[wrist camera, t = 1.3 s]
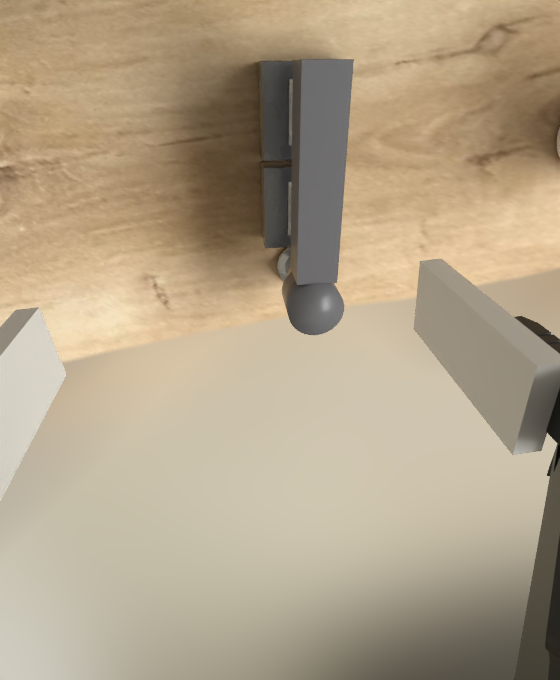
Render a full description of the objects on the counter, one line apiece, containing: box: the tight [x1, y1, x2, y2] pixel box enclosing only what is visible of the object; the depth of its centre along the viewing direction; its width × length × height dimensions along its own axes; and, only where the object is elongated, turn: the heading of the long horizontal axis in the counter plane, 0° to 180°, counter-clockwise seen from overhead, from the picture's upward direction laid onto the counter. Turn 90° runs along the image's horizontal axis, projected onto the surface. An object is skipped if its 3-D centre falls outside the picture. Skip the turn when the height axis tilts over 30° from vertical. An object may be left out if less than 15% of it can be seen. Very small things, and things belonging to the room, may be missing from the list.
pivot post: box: [277, 247, 292, 281], centre depth 36 cm, size 4×4×5 cm
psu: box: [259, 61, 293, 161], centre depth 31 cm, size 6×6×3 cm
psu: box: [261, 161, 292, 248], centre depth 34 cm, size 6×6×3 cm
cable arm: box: [282, 59, 354, 335], centre depth 29 cm, size 17×4×4 cm, turn 0°
